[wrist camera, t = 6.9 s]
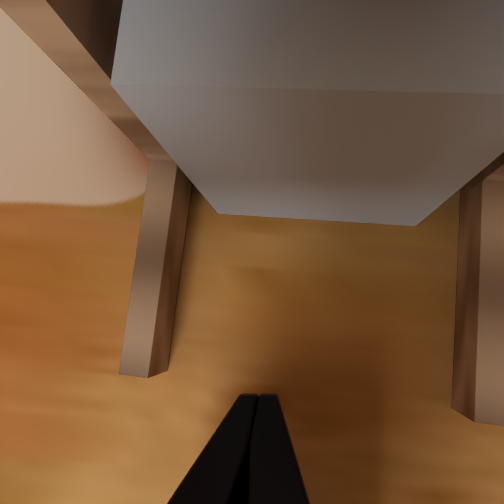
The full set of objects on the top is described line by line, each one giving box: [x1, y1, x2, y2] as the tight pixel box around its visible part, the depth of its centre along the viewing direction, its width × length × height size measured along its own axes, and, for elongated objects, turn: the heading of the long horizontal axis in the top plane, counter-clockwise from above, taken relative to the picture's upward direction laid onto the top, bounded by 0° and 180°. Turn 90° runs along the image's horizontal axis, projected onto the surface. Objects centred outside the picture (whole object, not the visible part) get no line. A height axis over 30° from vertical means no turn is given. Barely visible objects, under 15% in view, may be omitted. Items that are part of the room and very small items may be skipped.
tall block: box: [110, 0, 504, 226], centre depth 18 cm, size 9×11×14 cm
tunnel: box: [0, 0, 504, 426], centre depth 15 cm, size 15×18×17 cm
